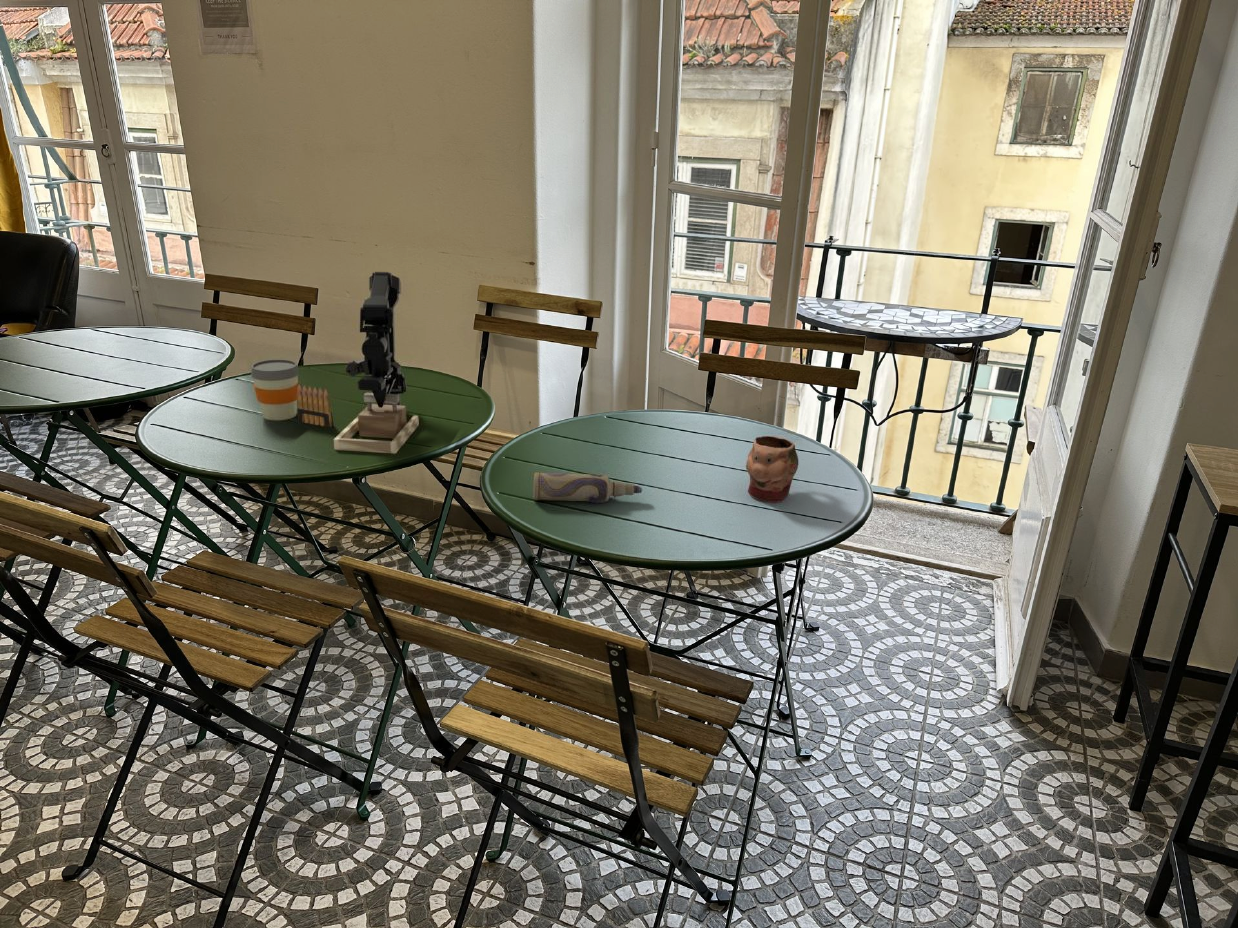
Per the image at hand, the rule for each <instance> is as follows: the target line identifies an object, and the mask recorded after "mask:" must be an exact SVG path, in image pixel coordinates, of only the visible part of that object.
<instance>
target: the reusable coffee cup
mask: <svg viewBox="0 0 1238 928" xmlns="http://www.w3.org/2000/svg"><path fill="white" fill-rule="evenodd" d="M297 363H298V362H296V361H294V360H290V359H282V358H281V359H278V358H277V359H276V358H275V359H265V360H260V361H257V362H255V363H252V364H251V368H250V369H251V370H250V371H251V374H250V375H251V378H253V382H254V384H253V388H254V392H255V396H256V399H257V402H259V405H260V409H261V411H262V416H263V418H264V419H265V420H268V421H285V420H289V419H292V418H294V417H296V416H297V415H298V410H297V409H298V385H299V384H300V381H299V374H300V373H299V367H298V364H297Z"/></svg>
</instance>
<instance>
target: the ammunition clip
mask: <svg viewBox="0 0 1238 928" xmlns="http://www.w3.org/2000/svg"><path fill="white" fill-rule="evenodd" d="M329 397H330V396H329V393H328V390H327V389H326V388H325V389H324V392H323V390H322V388H321V387H319V389H318V390H317V387H316V386H314V388H313V390H312V387H311V386H308V389H307V386H306V385H305V384H304V385H303V387H302V386H301V385H300V383H299V385H298V399H297V420H298V426H299V427H304V428H310V429H311V428H312V427H314V426H321V427H325V428H332V427H334V420H333V419H334V417H333V412H332V411H331V410H332V409H331V402H330V398H329Z"/></svg>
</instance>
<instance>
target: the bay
mask: <svg viewBox="0 0 1238 928" xmlns="http://www.w3.org/2000/svg"><path fill="white" fill-rule="evenodd" d="M419 420H420V419H419V415H416V414H414V415H413V416H411V418H410V419H409V420H408V422H407V424H406V425H405V427H404V428H403V429H402V430H401V431H400V432H399V434H398V435H397V436H396V437H395V438H392V441H391V440H379V439H378V440H376V439H375V440H374V439H361V438H360V439H358V438H353V437H354V436H355V434H356V433H357V432H359V421H358V416H356V417H355V418H354V419H353V421H351V422H350V423H348V425H347V426H346V427H345V428H344V429H342V431H341V432H340V433H339V434H338V435H336V437H334V438H333V447H334V450H336V451H351V452H367V453H368V452H369V453H380V454H382V453H383V454H397V452H398V451H399V450H400V449H401V448H402V446H403V445H405V443H406V441H407V440H408V439H409V438H410V436H411V435H412V434H413V432H414V431H416V430H417V428H418V427H419V425H420V423H419Z"/></svg>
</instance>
